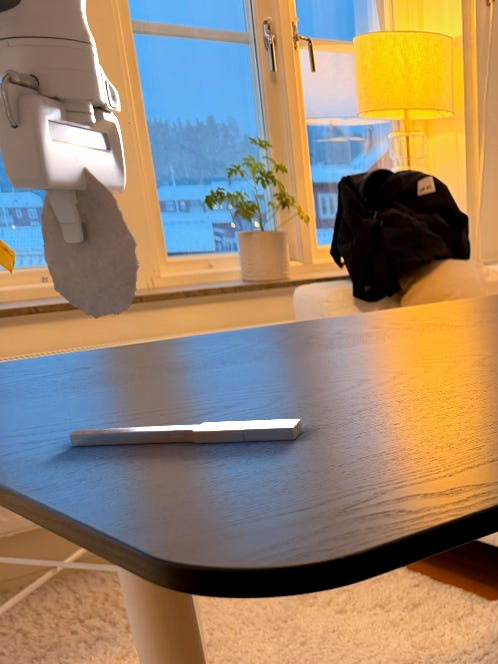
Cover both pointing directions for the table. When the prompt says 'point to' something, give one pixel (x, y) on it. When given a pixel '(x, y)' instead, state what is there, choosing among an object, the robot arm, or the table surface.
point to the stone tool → (92, 253)
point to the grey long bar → (191, 433)
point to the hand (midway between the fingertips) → (83, 242)
